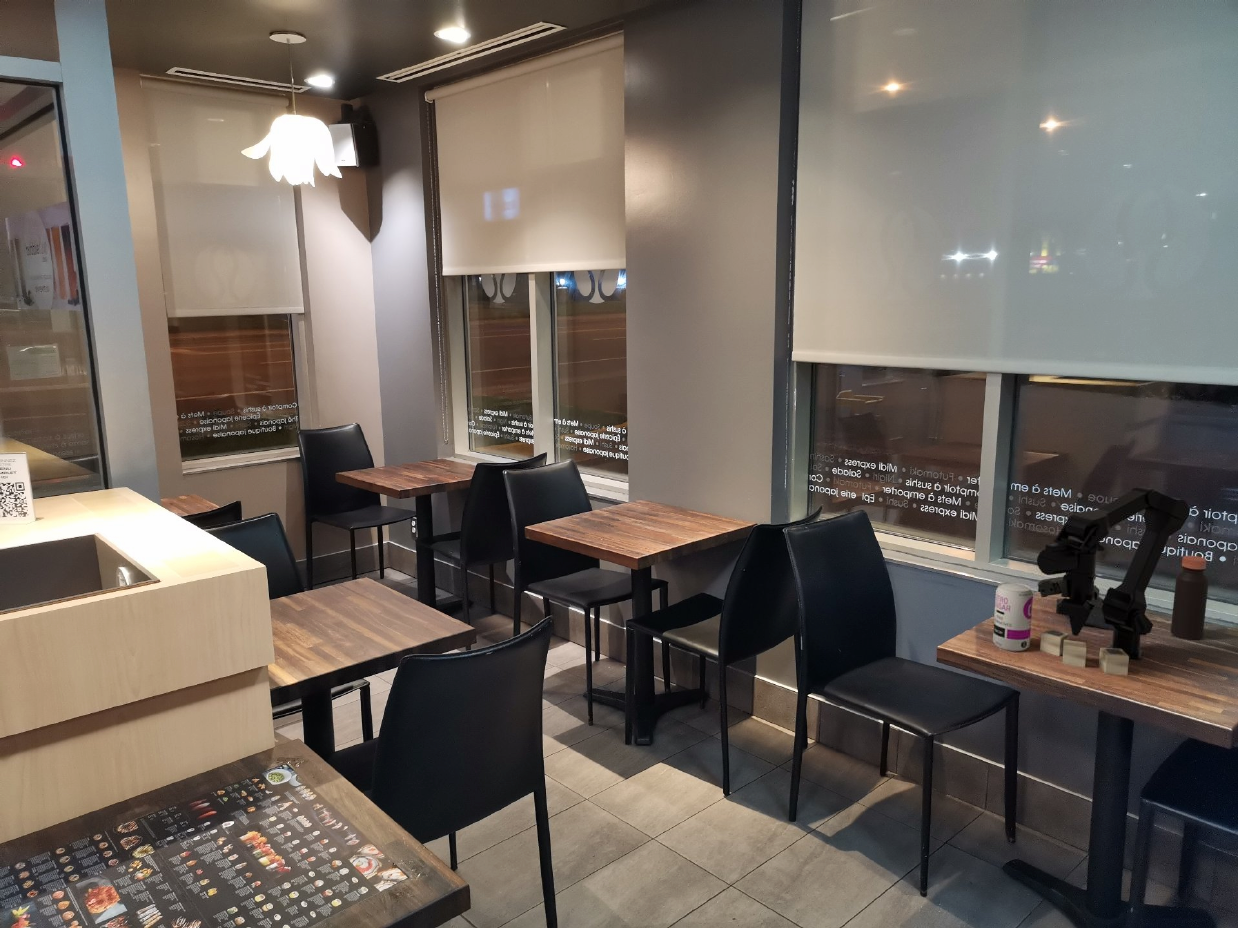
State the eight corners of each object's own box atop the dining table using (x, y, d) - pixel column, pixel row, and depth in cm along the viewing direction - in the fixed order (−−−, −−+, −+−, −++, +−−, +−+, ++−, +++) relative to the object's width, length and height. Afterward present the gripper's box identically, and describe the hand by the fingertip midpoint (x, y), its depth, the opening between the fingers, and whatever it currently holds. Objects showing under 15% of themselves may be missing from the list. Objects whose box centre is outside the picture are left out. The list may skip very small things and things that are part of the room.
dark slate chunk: (1058, 626, 225) (1059, 608, 224) (1055, 600, 245) (1057, 584, 244) (1125, 634, 219) (1127, 616, 218) (1117, 607, 238) (1119, 591, 237)
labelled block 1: (1048, 646, 210) (1050, 627, 210) (1067, 651, 207) (1069, 633, 206) (1040, 650, 208) (1041, 632, 207) (1059, 656, 204) (1060, 637, 203)
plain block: (1062, 657, 203) (1064, 639, 203) (1084, 660, 201) (1085, 642, 201) (1062, 664, 199) (1064, 646, 199) (1084, 667, 197) (1086, 649, 197)
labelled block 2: (1098, 666, 198) (1100, 646, 198) (1119, 667, 197) (1121, 648, 197) (1105, 673, 194) (1107, 654, 193) (1127, 675, 193) (1129, 655, 192)
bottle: (1197, 642, 212) (1206, 563, 208) (1166, 634, 217) (1174, 558, 213) (1206, 635, 216) (1214, 558, 213) (1175, 628, 221) (1183, 552, 218)
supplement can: (1033, 645, 211) (1038, 586, 208) (1022, 654, 205) (1026, 594, 203) (999, 637, 216) (1003, 579, 214) (987, 646, 211) (991, 587, 208)
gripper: (1050, 555, 209) (1045, 617, 211) (1033, 574, 194) (1028, 640, 197) (1102, 562, 202) (1096, 626, 205) (1089, 582, 187) (1083, 650, 190)
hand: (1075, 635), depth 199 cm, fingers closed
